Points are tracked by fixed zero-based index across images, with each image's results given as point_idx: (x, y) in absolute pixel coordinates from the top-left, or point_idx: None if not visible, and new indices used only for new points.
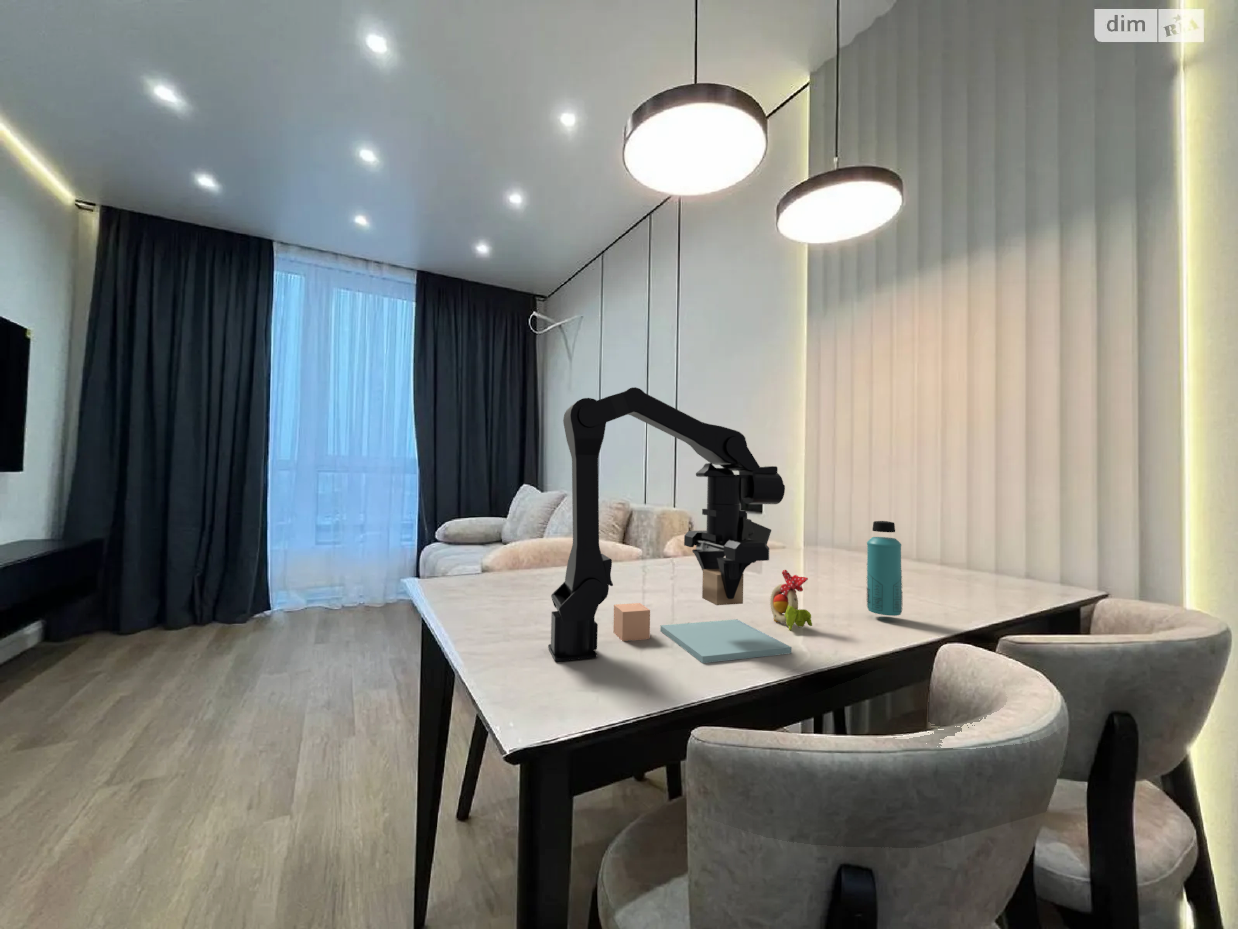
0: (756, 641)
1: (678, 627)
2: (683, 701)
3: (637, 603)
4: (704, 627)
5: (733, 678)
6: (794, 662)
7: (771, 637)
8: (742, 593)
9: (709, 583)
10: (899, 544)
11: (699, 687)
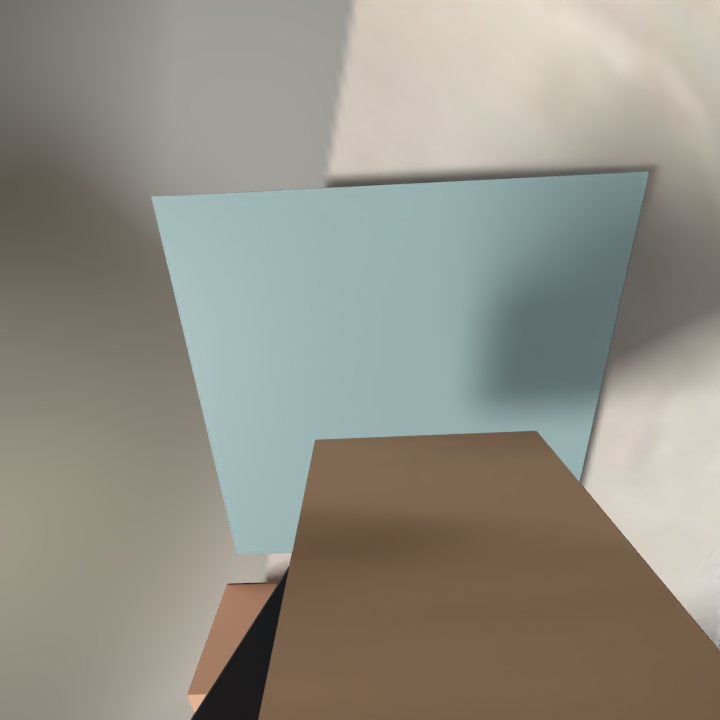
0: (513, 299)
1: (269, 511)
2: (713, 625)
3: (194, 702)
4: (282, 425)
5: (684, 496)
6: (705, 231)
7: (493, 187)
8: (576, 487)
9: None
10: None
11: (678, 581)
